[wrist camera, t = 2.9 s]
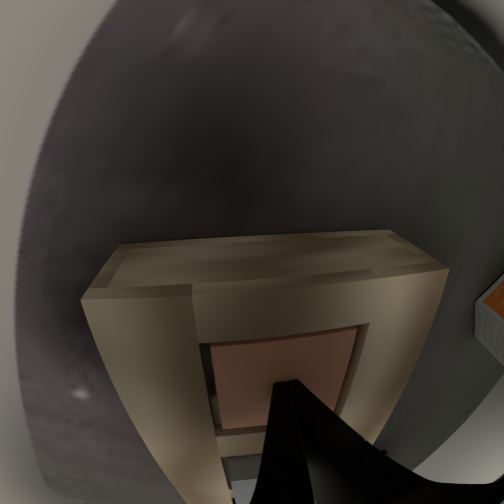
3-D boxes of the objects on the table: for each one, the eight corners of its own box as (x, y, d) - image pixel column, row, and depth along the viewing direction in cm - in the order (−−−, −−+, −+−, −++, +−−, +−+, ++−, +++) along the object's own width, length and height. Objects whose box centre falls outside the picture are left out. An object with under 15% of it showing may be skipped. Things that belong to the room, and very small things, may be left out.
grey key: (317, 428, 12) (330, 464, 10) (305, 463, 13) (314, 492, 11) (225, 442, 11) (230, 481, 9) (231, 474, 13) (236, 504, 11)
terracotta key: (331, 293, 10) (357, 328, 8) (317, 375, 12) (333, 412, 10) (208, 304, 10) (210, 347, 8) (218, 388, 11) (222, 429, 9)
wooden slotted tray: (388, 229, 11) (449, 268, 8) (319, 465, 20) (331, 500, 16) (119, 244, 10) (80, 299, 6) (197, 481, 18) (199, 518, 15)
